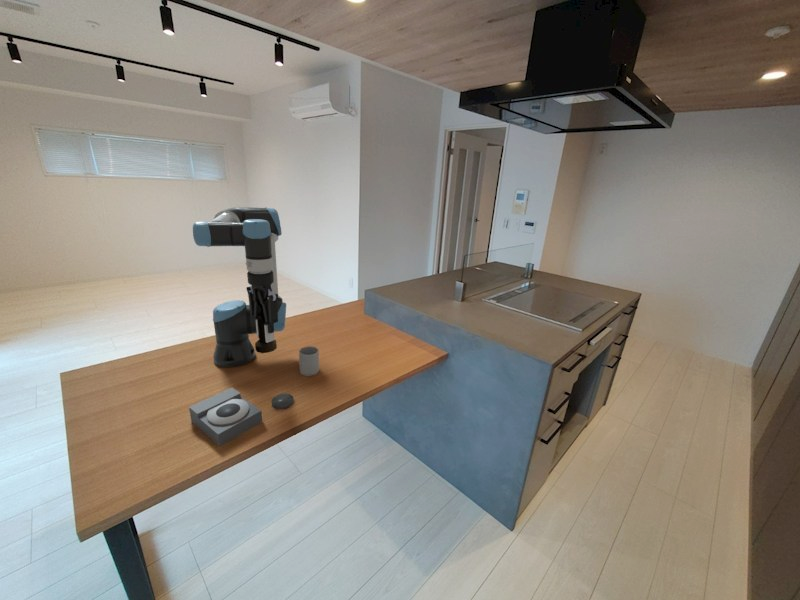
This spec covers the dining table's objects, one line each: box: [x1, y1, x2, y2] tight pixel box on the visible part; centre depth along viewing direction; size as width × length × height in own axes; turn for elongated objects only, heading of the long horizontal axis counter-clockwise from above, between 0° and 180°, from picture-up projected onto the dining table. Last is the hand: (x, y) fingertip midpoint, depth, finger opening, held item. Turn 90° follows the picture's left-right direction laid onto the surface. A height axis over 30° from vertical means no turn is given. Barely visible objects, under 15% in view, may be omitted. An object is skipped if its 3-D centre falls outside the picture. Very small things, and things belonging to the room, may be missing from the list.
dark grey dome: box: [270, 392, 295, 411], centre depth 110 cm, size 7×7×1 cm
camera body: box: [188, 387, 263, 447], centre depth 100 cm, size 16×13×5 cm
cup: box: [298, 345, 320, 377], centre depth 129 cm, size 7×10×9 cm
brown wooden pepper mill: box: [254, 299, 278, 354], centre depth 109 cm, size 7×6×18 cm
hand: (265, 338), depth 111 cm, fingers closed on brown wooden pepper mill, 4 cm apart
